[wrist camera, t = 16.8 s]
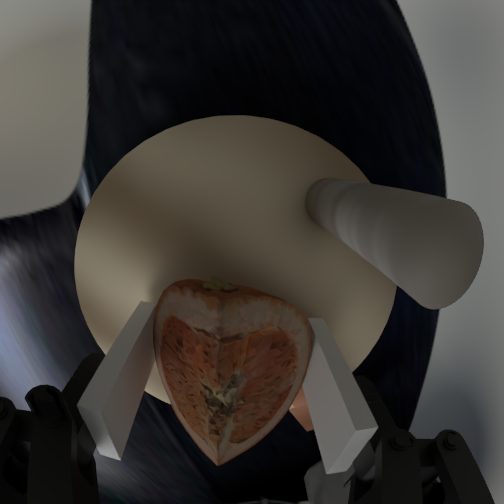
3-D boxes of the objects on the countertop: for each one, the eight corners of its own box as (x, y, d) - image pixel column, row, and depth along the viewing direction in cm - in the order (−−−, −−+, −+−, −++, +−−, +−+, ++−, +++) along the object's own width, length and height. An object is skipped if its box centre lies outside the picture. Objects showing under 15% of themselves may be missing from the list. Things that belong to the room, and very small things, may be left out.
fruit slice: (157, 241, 11) (106, 290, 6) (316, 254, 12) (361, 310, 7) (166, 387, 14) (146, 457, 9) (286, 396, 14) (299, 468, 9)
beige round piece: (276, 430, 19) (291, 539, 9) (60, 291, 14) (-39, 385, 5) (436, 287, 16) (538, 368, 6) (218, 65, 11) (186, -82, 2)
